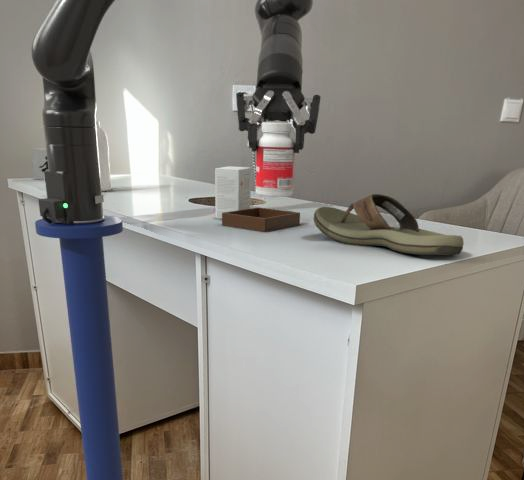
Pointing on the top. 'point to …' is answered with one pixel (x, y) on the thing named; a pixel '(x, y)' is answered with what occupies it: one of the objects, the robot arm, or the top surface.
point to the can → (103, 157)
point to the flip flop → (384, 228)
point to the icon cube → (39, 162)
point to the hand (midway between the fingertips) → (275, 148)
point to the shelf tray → (260, 219)
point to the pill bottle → (275, 161)
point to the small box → (232, 189)
